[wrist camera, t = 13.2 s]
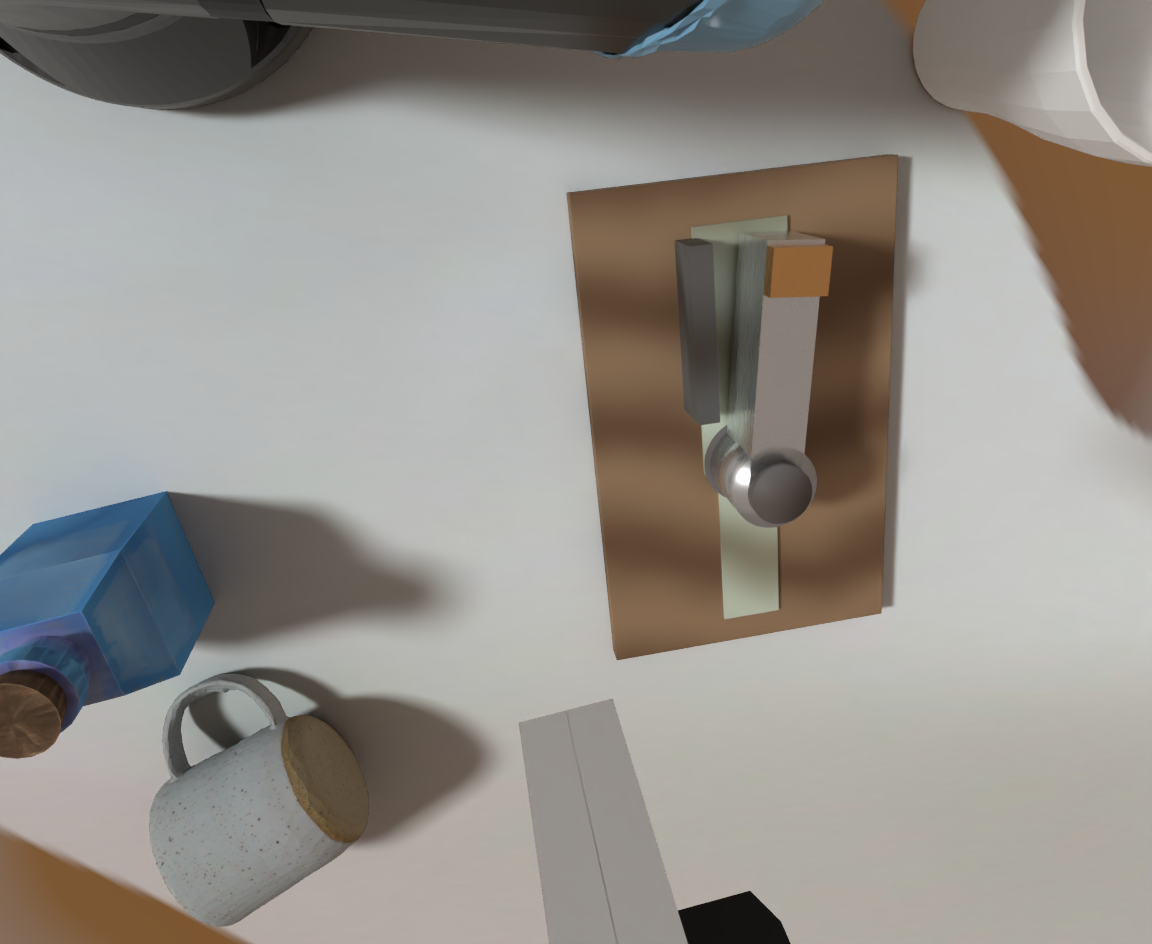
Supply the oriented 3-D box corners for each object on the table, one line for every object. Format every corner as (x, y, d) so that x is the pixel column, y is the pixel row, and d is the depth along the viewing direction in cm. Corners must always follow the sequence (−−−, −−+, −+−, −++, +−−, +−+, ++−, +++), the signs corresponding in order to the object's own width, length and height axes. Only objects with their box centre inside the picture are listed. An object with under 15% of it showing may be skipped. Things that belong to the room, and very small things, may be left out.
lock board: (566, 192, 38) (588, 201, 32) (886, 154, 39) (959, 156, 34) (613, 650, 47) (636, 717, 41) (872, 604, 48) (928, 663, 43)
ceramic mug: (384, 769, 47) (374, 878, 40) (262, 842, 48) (229, 962, 41) (263, 633, 43) (227, 726, 36) (131, 713, 44) (70, 821, 37)
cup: (818, 23, 37) (1013, -38, 24) (1014, -162, 35) (1327, -327, 23) (940, 210, 41) (1163, 240, 28) (1122, 50, 39) (1440, 7, 27)
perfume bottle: (166, 491, 40) (62, 625, 29) (214, 602, 42) (135, 766, 31) (33, 524, 40) (-125, 672, 28) (89, 635, 42) (-36, 811, 31)
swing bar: (784, 496, 43) (819, 531, 39) (708, 501, 43) (736, 537, 39) (808, 230, 38) (851, 240, 35) (722, 232, 38) (756, 243, 34)
